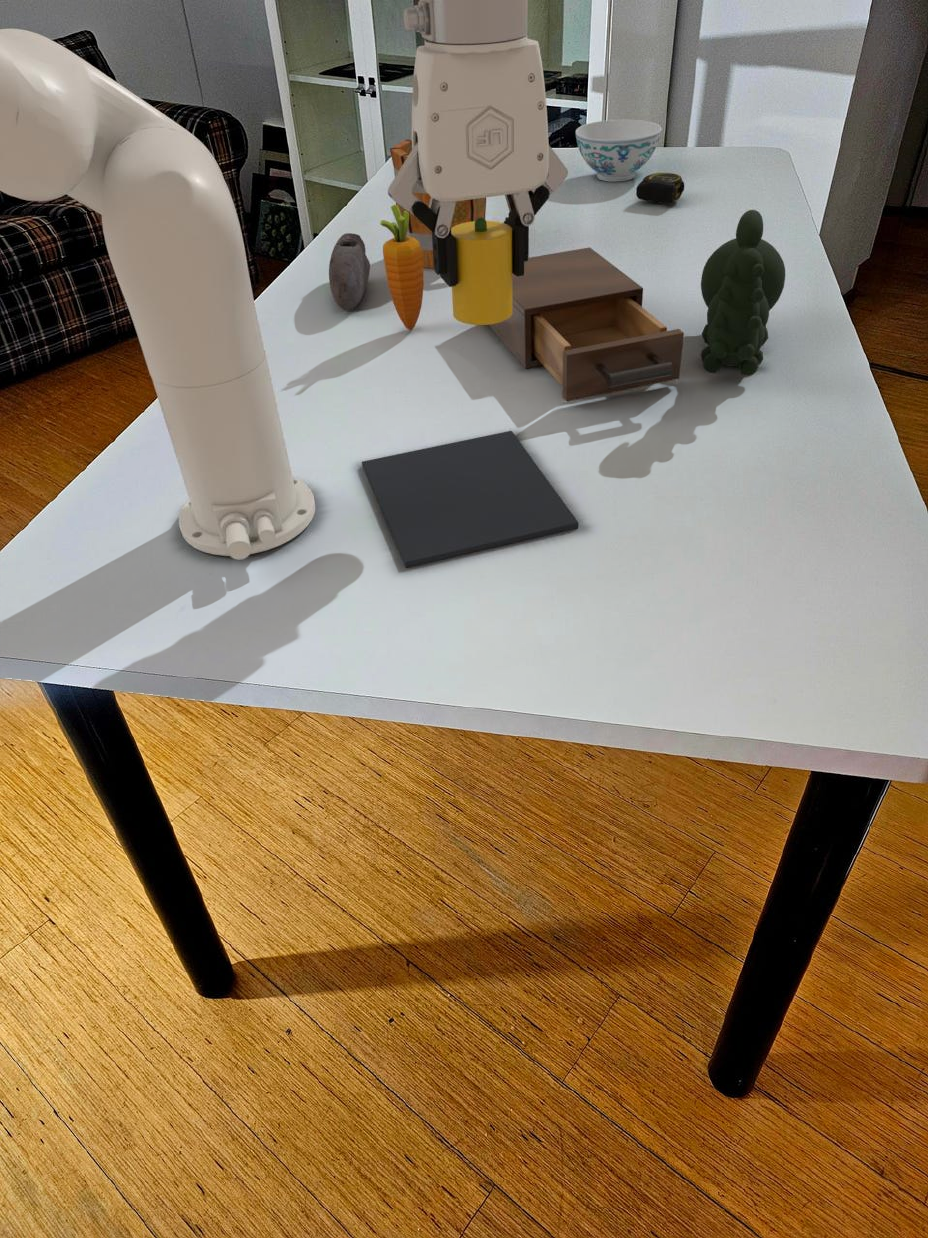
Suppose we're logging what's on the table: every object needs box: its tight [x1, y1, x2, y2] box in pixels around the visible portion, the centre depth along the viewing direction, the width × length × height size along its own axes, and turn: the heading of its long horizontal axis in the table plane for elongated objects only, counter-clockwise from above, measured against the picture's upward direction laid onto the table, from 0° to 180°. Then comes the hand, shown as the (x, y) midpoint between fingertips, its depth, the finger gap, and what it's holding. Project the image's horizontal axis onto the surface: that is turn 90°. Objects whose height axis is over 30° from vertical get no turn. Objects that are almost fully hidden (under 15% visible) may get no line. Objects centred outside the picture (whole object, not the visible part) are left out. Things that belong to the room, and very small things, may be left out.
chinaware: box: [575, 119, 662, 183], centre depth 159 cm, size 15×15×8 cm
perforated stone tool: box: [328, 232, 371, 312], centre depth 122 cm, size 15×5×7 cm, turn 178°
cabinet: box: [488, 246, 644, 369], centre depth 109 cm, size 16×15×7 cm
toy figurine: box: [699, 209, 786, 376], centre depth 99 cm, size 9×19×25 cm
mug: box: [389, 138, 487, 269], centre depth 131 cm, size 20×14×15 cm
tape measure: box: [635, 172, 685, 205], centre depth 148 cm, size 7×7×4 cm
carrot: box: [379, 204, 425, 331], centre depth 110 cm, size 5×5×15 cm
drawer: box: [531, 297, 685, 402], centre depth 99 cm, size 19×13×5 cm
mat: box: [361, 430, 579, 568], centre depth 84 cm, size 18×16×1 cm
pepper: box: [451, 217, 512, 326], centre depth 75 cm, size 5×5×8 cm
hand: (481, 273), depth 76 cm, fingers closed on pepper, 5 cm apart
